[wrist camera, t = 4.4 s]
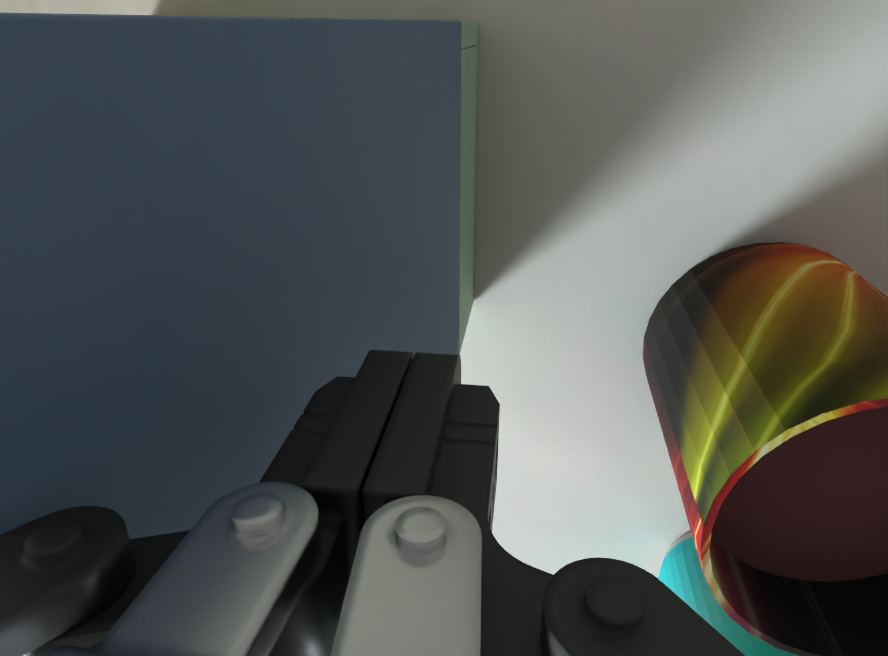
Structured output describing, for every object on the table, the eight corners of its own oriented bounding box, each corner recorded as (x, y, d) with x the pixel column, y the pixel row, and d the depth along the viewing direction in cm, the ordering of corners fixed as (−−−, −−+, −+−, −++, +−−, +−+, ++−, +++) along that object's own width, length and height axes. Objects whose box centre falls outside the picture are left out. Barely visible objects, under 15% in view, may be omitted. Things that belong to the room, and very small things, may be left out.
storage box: (196, 287, 31) (93, 364, 24) (146, 24, 26) (-2, 23, 19) (473, 302, 29) (450, 390, 22) (478, 22, 24) (450, 21, 17)
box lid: (88, 859, 10) (129, 881, 9) (-299, 9, 5) (-238, 7, 4) (437, 394, 22) (459, 399, 21) (434, 20, 17) (462, 20, 16)
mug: (938, 456, 29) (1170, 709, 18) (628, 427, 31) (673, 643, 20) (1025, 255, 25) (1394, 430, 14) (661, 235, 26) (740, 378, 16)
